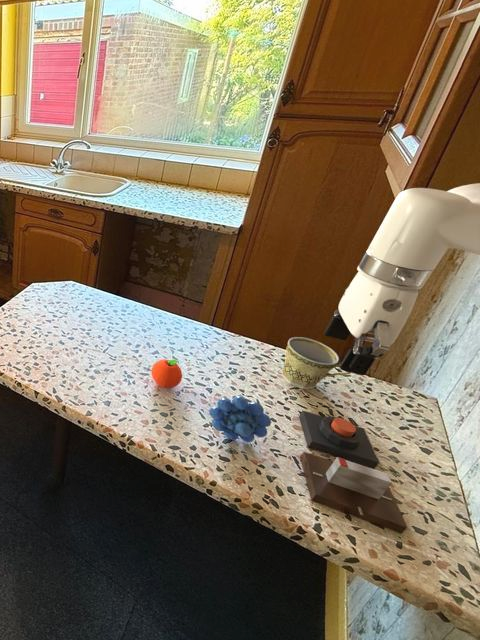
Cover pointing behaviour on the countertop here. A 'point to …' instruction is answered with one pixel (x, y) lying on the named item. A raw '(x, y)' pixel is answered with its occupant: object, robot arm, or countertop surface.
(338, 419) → the button
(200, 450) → the countertop surface
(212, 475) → the countertop surface
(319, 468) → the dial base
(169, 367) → the clementine
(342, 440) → the button box
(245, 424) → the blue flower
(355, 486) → the grey block
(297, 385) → the ceramic cup
